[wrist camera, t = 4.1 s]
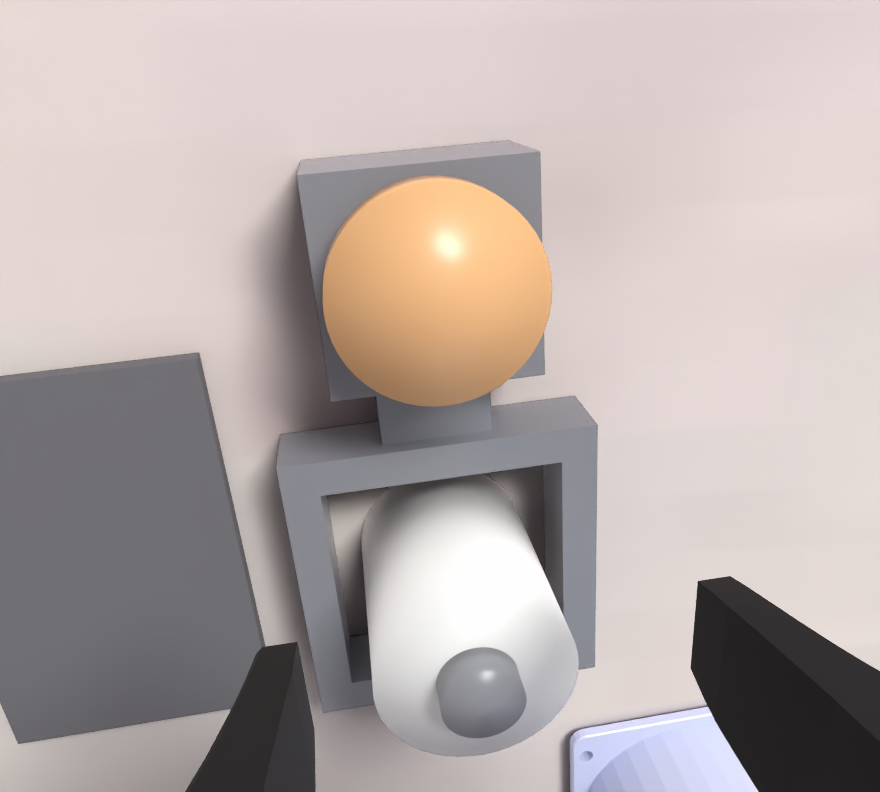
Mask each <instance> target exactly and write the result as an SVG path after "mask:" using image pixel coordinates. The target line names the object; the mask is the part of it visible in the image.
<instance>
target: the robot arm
mask: <svg viewBox="0 0 880 792" xmlns="http://www.w3.org/2000/svg"><path fill="white" fill-rule="evenodd" d="M691 670H692V672H693V675H694V677H695V679H696V681H697V683H698V686H699V688H700V690H701V692H702V695H703V697H704V699H705V701H706V703H707V705H708V707H703V708H697V709H692V710H686V711H680V712H675V713H669V714H663V715H658V716H652V717H647V718H641V719H635V720H630V721H624V722H618V723H613V724H607V725H601V726H596V727H590V728H584V729H581V730H578V731H576V732H575V733H574V734H573V735H572V736H571V739H570V792H880V671H878V670H877V669H875V668H873V667H871V666H870V665H868V664H866V663H865V662H863V661H861V660H860V659H858V658H856V657H855V656H853V655H851V654H850V653H848V652H846V651H845V650H843V649H842V648H840V647H838V646H837V645H835V644H833V643H832V642H830V641H829V640H827V639H826V638H824V637H822V636H821V635H819V634H818V633H816V632H815V631H813V630H812V629H810V628H809V627H807V626H805V625H804V624H802V623H801V622H799V621H798V620H796V619H795V618H793V617H792V616H790V615H789V614H787V613H786V612H784V611H783V610H781V609H780V608H778V607H777V606H775V605H774V604H772V603H771V602H769V601H768V600H766V599H765V598H763V597H762V596H760V595H759V594H757V593H756V592H754V591H753V590H751V589H750V588H748V587H746V586H745V585H743V584H742V583H740V582H739V581H737V580H735V579H734V578H732V577H730V576H729V577H722V578H715V579H709V580H702V581H698V587H697V599H696V611H695V623H694V635H693V646H692V658H691ZM185 792H315V739H314V726H313V720H312V715H311V710H310V705H309V700H308V694H307V689H306V684H305V679H304V674H303V668H302V663H301V658H300V653H299V647H298V642H294V643H287V644H281V645H274V646H267V647H262V648H261V649H260V650H259V651H258V652H257V653H256V655H255V658H254V660H253V663H252V665H251V668H250V670H249V672H248V675H247V677H246V679H245V681H244V684H243V686H242V688H241V690H240V692H239V694H238V697H237V699H236V701H235V703H234V705H233V707H232V709H231V711H230V713H229V715H228V717H227V719H226V721H225V723H224V724H223V726H222V728H221V730H220V732H219V734H218V736H217V738H216V740H215V741H214V743H213V745H212V747H211V749H210V751H209V753H208V754H207V756H206V758H205V760H204V761H203V763H202V765H201V766H200V768H199V770H198V771H197V773H196V775H195V776H194V778H193V780H192V781H191V783H190V785H189V786H188V788H187V790H186V791H185Z"/></svg>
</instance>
